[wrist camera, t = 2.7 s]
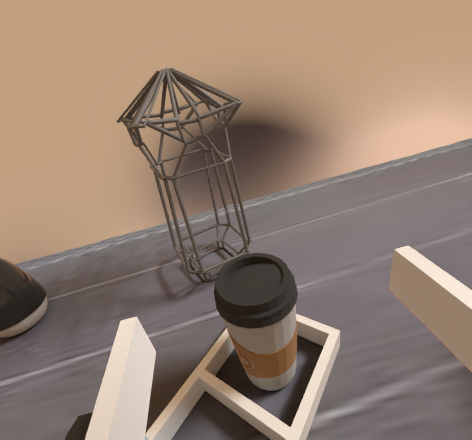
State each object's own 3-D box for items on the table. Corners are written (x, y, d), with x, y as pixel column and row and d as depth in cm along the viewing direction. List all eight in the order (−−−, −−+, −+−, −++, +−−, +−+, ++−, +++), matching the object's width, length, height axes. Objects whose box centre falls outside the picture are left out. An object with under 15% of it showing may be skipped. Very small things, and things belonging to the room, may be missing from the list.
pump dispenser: (32, 299, 53) (-16, 240, 46) (68, 302, 50) (23, 239, 42) (-21, 343, 45) (-90, 279, 37) (18, 351, 41) (-49, 283, 34)
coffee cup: (226, 361, 33) (196, 276, 26) (274, 325, 36) (259, 241, 29) (265, 421, 27) (240, 329, 19) (319, 370, 30) (315, 276, 23)
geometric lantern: (231, 234, 61) (196, 66, 43) (269, 267, 48) (242, 51, 31) (169, 261, 55) (101, 82, 38) (193, 308, 43) (109, 71, 25)
